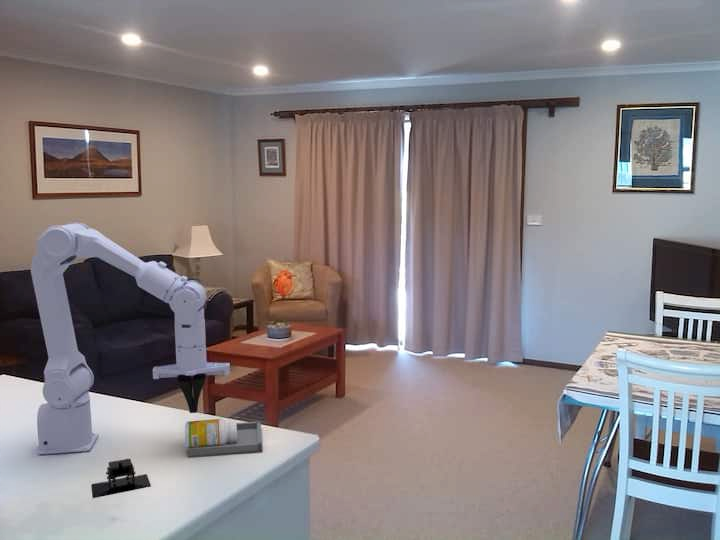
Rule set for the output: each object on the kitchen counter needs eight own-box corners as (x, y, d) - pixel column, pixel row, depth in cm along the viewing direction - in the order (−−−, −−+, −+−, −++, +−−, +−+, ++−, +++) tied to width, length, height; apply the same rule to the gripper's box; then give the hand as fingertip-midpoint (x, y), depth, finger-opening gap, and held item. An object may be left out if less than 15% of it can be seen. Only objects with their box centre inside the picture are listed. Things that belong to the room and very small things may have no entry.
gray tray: (187, 457, 125) (187, 449, 125) (192, 433, 137) (192, 425, 136) (262, 451, 127) (261, 444, 127) (260, 428, 139) (260, 421, 139)
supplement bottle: (186, 428, 131) (236, 423, 133) (186, 454, 128) (237, 449, 130) (184, 417, 127) (236, 413, 129) (184, 444, 124) (237, 439, 126)
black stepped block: (83, 504, 108) (82, 478, 108) (81, 486, 115) (80, 461, 114) (161, 489, 113) (160, 464, 113) (155, 472, 120) (154, 448, 119)
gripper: (149, 351, 123) (152, 421, 125) (228, 347, 125) (230, 416, 127) (154, 342, 130) (157, 408, 132) (229, 338, 132) (231, 403, 134)
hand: (193, 411), depth 130 cm, fingers closed
